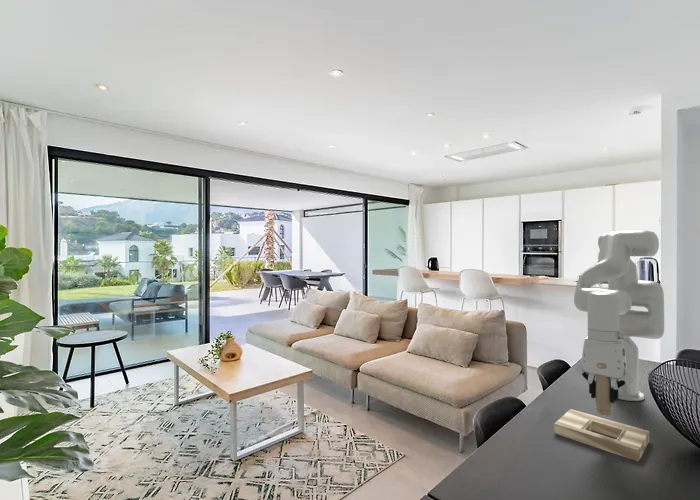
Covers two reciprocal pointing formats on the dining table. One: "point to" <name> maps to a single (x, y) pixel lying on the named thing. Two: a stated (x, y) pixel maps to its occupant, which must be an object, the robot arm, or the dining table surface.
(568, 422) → the board
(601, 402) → the handle
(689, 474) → the dining table surface
